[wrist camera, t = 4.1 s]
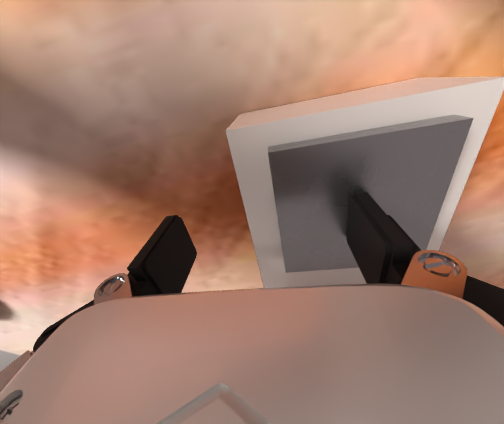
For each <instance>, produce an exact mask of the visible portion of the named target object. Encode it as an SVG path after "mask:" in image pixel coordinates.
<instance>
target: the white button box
mask: <svg viewBox="0 0 504 424" xmlns="http://www.w3.org/2000/svg"><path fill="white" fill-rule="evenodd" d="M503 90H504V76H497V77H432V78H414V79H409V80H405V81H400V82H395V83H390V84H385V85H380V86H375V87H370V88H365V89H360V90H355V91H350V92H345V93H341V94H336V95H331V96H326V97H321V98H316V99H311V100H306V101H301V102H296V103H291V104H286V105H282V106H277V107H272V108H267V109H262V110H257V111H252V112H247V113H242V114H239V116H238V117H237V118H236V119H235V120H234V121H233V122H232V124H231V125H230V126H229V127H228V128H227V129H226V135H227V139H228V143H229V147H230V151H231V156H232V160H233V164H234V168H235V172H236V176H237V180H238V184H239V188H240V192H241V196H242V200H243V204H244V208H245V212H246V217H247V221H248V225H249V229H250V233H251V237H252V241H253V245H254V249H255V253H256V257H257V261H258V265H259V269H260V273H261V277H262V282H263V286H264V288H277V287H297V286H317V285H341V284H367V283H366V281H365V279H364V277H363V275H362V273H361V271H360V269H359V268H345V269H331V270H317V271H303V272H288V273H286V272H285V265H284V258H283V251H282V245H281V238H280V231H279V225H278V218H277V211H276V204H275V198H274V191H273V184H272V178H271V171H270V164H269V157H268V146H274V145H280V144H286V143H291V142H297V141H303V140H309V139H315V138H320V137H326V136H332V135H338V134H344V133H349V132H355V131H361V130H367V129H373V128H378V127H384V126H390V125H396V124H402V123H407V122H413V121H419V120H425V119H430V118H436V117H442V116H448V115H460V116H465V117H470V118H474V119H473V121H472V124H471V127H470V130H469V133H468V135H467V138H466V141H465V144H464V146H463V149H462V152H461V155H460V158H459V160H458V163H457V166H456V169H455V171H454V174H453V177H452V180H451V183H450V185H449V188H448V191H447V194H446V197H445V199H444V202H443V205H442V208H441V210H440V213H439V216H438V219H437V222H436V224H435V227H434V230H433V233H432V235H431V238H430V241H429V244H428V247H427V249H426V250H436V251H439V249H440V246H441V244H442V241H443V239H444V236H445V234H446V231H447V229H448V226H449V224H450V221H451V219H452V216H453V214H454V212H455V209H456V207H457V204H458V202H459V199H460V197H461V194H462V192H463V189H464V187H465V184H466V182H467V179H468V177H469V174H470V172H471V170H472V167H473V165H474V162H475V160H476V157H477V155H478V152H479V150H480V147H481V145H482V142H483V140H484V137H485V135H486V132H487V130H488V127H489V125H490V123H491V120H492V118H493V115H494V113H495V110H496V108H497V105H498V103H499V100H500V98H501V95H502V93H503Z"/></svg>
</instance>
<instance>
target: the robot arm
mask: <svg viewBox="0 0 504 424" xmlns="http://www.w3.org/2000/svg"><path fill="white" fill-rule="evenodd" d="M346 239H347V243H348V245H349V247H350V250H351V252H352V254H353V256H354V258H355V260H356V262H357V264H358V266H359V269H360V271H361V273H362V275H363V277H364V279H365V281H366V283H367V284H341V285H317V286H297V287H277V288H258V289H240V290H222V291H205V292H189V293H181V292H182V289H183V287H184V284H185V282H186V280H187V277H188V275H189V273H190V270H191V268H192V265H193V263H194V261H195V258H196V256H197V252H196V249H195V247H194V244H193V242H192V240H191V238H190V236H189V233H188V231H187V229H186V227H185V224H184V222H183V220H182V218H181V217H179V216H178V215H173V216H167V217H166V218H165V219H164V220H163V222H162V223H161V224H160V225H159V227H158V228H157V229H156V231H155V232H154V233H153V235H152V236H151V237H150V239H149V240H148V241H147V242H146V244H145V245H144V246H143V248H142V249H141V250H140V252H139V253H138V254H137V256H136V257H135V258H134V259H133V261H132V262H131V263H130V265H129V266H128V267H127V269H128V271H129V273H128V275H127V274H125V273H119V274H116V275H113V276H111V277H109V278H108V279H106V280H105V281H104V282H102V283H101V284H100V285H99V286H98V287H97V289H96V291H95V294H94V300H93V301H91V302H89V303H88V304H86V305H84V306H83V307H81V308H79V309H78V310H76V311H74V312H73V313H71V314H69V315H68V316H66V317H64V318H63V319H61V320H59V321H58V322H56V323H55V324H53V325H51V326H49V327H48V328H47V329H46V330H45V331H44V332H43V333H42V334H41V336H40V337H39V338H38V339H37V341H36V342H35V344H34V347H33V351H32V352H30V351H29V350H28V351H26V352H25V353H24V354H23V355H21V356H20V357H19V358H17V359H16V360H15V361H14V362H12V363H11V364H10V365H9V366H7V367H6V368H5V369H4V370H2V371H1V372H0V424H504V289H502V288H499V287H496V286H494V285H491V284H488V283H486V282H483V281H480V280H478V279H475V278H472V277H470V276H467V269H466V267H465V266H464V264H463V263H462V262H460V261H459V260H458V259H457V258H455V257H453V256H451V255H449V254H446V253H444V252H440V251H436V250H421V249H420V248H419V247H418V246H417V245H416V244H415V242H414V241H413V240H412V239H411V238H410V237H409V236H408V235H407V233H406V232H405V231H404V230H403V229H402V228H401V227H400V226H399V224H398V223H397V222H396V221H395V220H394V219H393V218H392V217H391V216H390V215H387V214H386V213H385V212H384V211H383V210H382V209H381V207H380V206H379V205H378V204H377V203H376V202H375V200H374V199H373V198H372V197H371V196H370V195H369V194H368V192H358V193H354V194H353V196H350V197H349V207H348V221H347V234H346Z"/></svg>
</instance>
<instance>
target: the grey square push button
mask: <svg viewBox="0 0 504 424" xmlns="http://www.w3.org/2000/svg"><path fill="white" fill-rule="evenodd" d="M473 119H474V118H470V117H465V116H460V115H448V116H442V117H436V118H430V119H425V120H419V121H413V122H407V123H402V124H396V125H390V126H384V127H378V128H373V129H367V130H361V131H355V132H349V133H344V134H338V135H332V136H326V137H320V138H315V139H309V140H303V141H297V142H291V143H286V144H280V145H274V146H268V157H269V164H270V171H271V178H272V184H273V191H274V198H275V204H276V211H277V218H278V225H279V231H280V238H281V245H282V251H283V258H284V265H285V272H286V273H288V272H303V271H317V270H331V269H345V268H359V266H358V264H357V262H356V260H355V258H354V256H353V254H352V252H351V250H350V247H349V245H348V243H347V239H346V234H347V221H348V207H349V197H350V196H353V194H354V193H358V192H368V194H369V195H370V196H371V197H372V198H373V199H374V200H375V202H376V203H377V204H378V205H379V206H380V207H381V209H382V210H383V211H384V212H385V213H386V214H387V215H390V216H391V217H392V218H393V219H394V220H395V221H396V222H397V223H398V224H399V226H400V227H401V228H402V229H403V230H404V231H405V232H406V233H407V235H408V236H409V237H410V238H411V239H412V240H413V241H414V242H415V244H416V245H417V246H418V247H419V248H420V249H421V250H426V249H427V247H428V244H429V241H430V238H431V235H432V233H433V230H434V227H435V224H436V222H437V219H438V216H439V213H440V210H441V208H442V205H443V202H444V199H445V197H446V194H447V191H448V188H449V185H450V183H451V180H452V177H453V174H454V171H455V169H456V166H457V163H458V160H459V158H460V155H461V152H462V149H463V146H464V144H465V141H466V138H467V135H468V133H469V130H470V127H471V124H472V121H473Z"/></svg>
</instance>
